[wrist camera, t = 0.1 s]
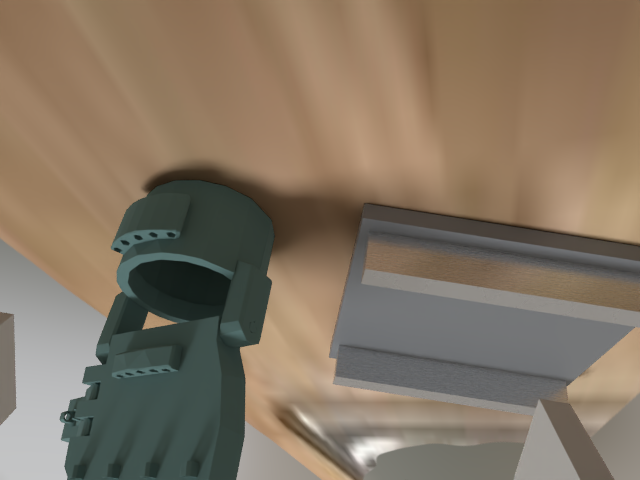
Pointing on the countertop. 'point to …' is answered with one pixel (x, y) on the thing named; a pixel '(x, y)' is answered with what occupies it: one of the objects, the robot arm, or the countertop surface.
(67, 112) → the countertop surface
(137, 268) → the robotic hand
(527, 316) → the rail dock
